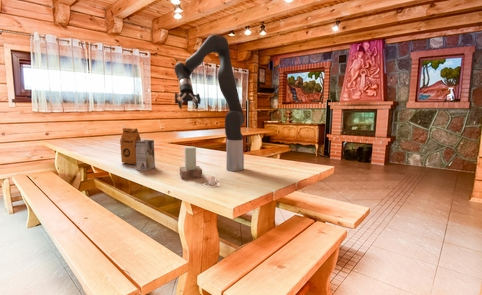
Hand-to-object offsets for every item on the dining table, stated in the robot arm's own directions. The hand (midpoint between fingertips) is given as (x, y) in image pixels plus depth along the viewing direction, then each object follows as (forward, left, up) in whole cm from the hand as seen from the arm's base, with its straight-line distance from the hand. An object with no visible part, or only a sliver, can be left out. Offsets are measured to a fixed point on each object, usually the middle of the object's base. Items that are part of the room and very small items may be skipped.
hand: (189, 107), depth 147 cm
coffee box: (+24, -7, -35) cm, 43 cm away
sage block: (+2, +17, -31) cm, 35 cm away
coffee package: (+32, -24, -35) cm, 53 cm away
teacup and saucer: (-8, +34, -35) cm, 49 cm away
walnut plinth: (+2, +17, -35) cm, 39 cm away
